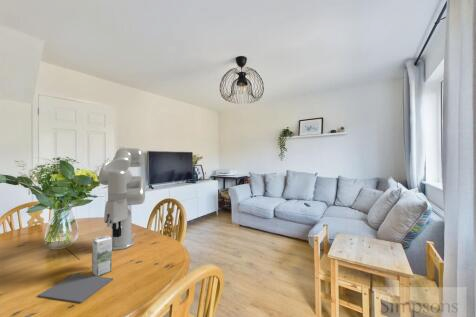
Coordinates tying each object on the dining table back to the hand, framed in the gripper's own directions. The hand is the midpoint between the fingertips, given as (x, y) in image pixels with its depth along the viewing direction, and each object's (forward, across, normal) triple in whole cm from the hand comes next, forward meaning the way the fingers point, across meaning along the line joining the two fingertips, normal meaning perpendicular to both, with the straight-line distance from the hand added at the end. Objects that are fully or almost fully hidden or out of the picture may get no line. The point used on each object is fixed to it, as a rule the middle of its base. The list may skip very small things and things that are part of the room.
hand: (117, 236), depth 98 cm
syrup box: (+12, +8, 0) cm, 15 cm away
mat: (+12, +19, 0) cm, 23 cm away
